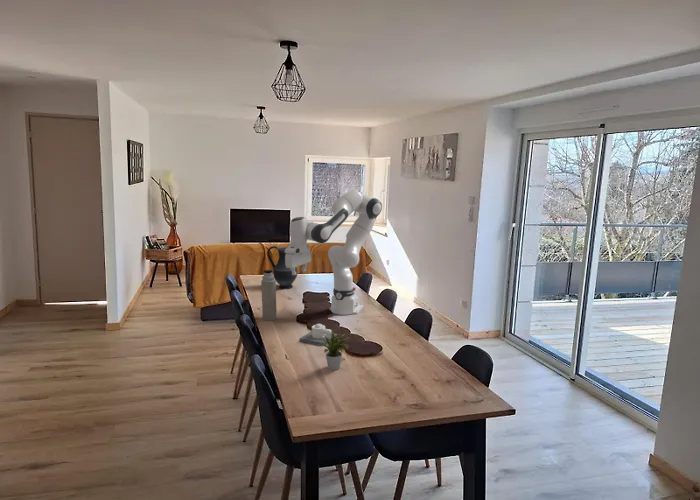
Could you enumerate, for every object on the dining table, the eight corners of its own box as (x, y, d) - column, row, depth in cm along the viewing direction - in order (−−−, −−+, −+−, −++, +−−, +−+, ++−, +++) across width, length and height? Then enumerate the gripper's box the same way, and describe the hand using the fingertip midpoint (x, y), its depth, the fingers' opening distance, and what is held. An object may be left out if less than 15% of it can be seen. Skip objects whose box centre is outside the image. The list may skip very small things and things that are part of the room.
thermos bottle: (278, 316, 280) (277, 269, 275) (273, 320, 273) (272, 272, 268) (265, 315, 282) (264, 268, 277) (260, 320, 274) (258, 271, 269)
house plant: (337, 378, 200) (337, 341, 197) (310, 371, 207) (310, 334, 204) (355, 366, 211) (355, 330, 209) (329, 359, 219) (329, 325, 216)
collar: (309, 337, 243) (309, 327, 242) (316, 333, 248) (316, 323, 248) (327, 340, 238) (327, 330, 238) (333, 336, 244) (333, 326, 243)
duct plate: (314, 332, 254) (313, 318, 252) (337, 336, 247) (337, 322, 246) (299, 341, 241) (299, 326, 240) (323, 345, 235) (323, 331, 234)
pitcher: (296, 290, 337) (295, 248, 331) (266, 290, 337) (264, 248, 332) (299, 284, 354) (298, 243, 348) (270, 284, 354) (269, 243, 349)
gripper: (303, 244, 268) (304, 268, 271) (282, 250, 251) (283, 276, 253) (313, 245, 266) (314, 269, 268) (292, 251, 248) (293, 277, 250)
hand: (299, 273), depth 260 cm, fingers open, 8 cm apart
